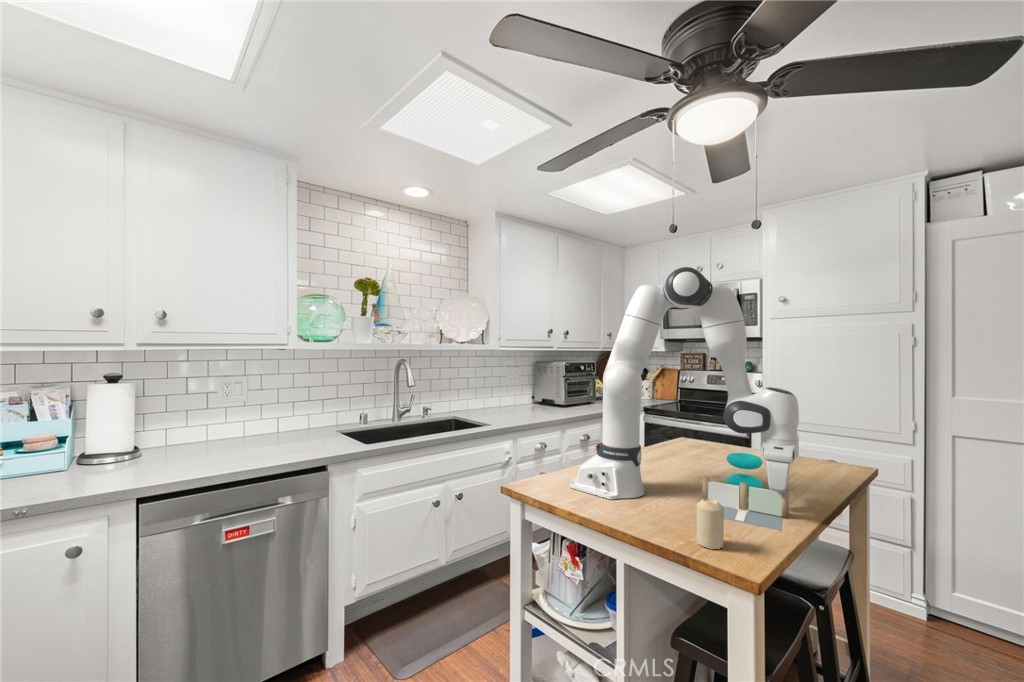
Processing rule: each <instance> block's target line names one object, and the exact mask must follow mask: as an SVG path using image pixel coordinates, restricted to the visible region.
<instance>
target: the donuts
mask: <svg viewBox="0 0 1024 682" xmlns="http://www.w3.org/2000/svg"><path fill="white" fill-rule="evenodd" d="M726 461H727V463H728V464H729V465H731V466H732V467H734V468H737V469H742V470H748V471H749V470H757V469H760V468H761V467H762V466H763V459H762V458H761V457H760V456H758V455H756V454H752V453H745V452H731V453H729V454H727V456H726ZM741 482H742V483H747V492H749V486H750V487H755V488H761V489H763V482H762V481H761V479H759V478H758V477H757V476H754V475H752V474H748V473H732V474H730V475H728V476H727V478H726V484H731V485H737V486H740V483H741Z"/></svg>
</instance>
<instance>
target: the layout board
mask: <svg viewBox="0 0 1024 682" xmlns="http://www.w3.org/2000/svg"><path fill="white" fill-rule="evenodd" d="M722 507H723V508H724V520H728V521H732V522H738V523H741V524H742V523H743V524H747V525H751V526H755V527H756V526H757V527H761V528H766V529H771V530H775V531H780V532H781V530H782V524H783V523H782V522H783V517H782V516H777V515H772V514H766V513H761V512H756V511H751V510H749V501H747V510H741V509H740V508H739V509H735V508H730V507H725V506H722Z"/></svg>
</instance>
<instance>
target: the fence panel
mask: <svg viewBox="0 0 1024 682" xmlns="http://www.w3.org/2000/svg"><path fill="white" fill-rule="evenodd" d="M748 502H749V510H751V511H756V512H761V513H766V514H772V515H777V516H782V518H785V519H786V518H789V517H790V513H789V511H790V489H789V488H786V492H777V491H772V490H770V489H768V488H767V489H766V488H755V487H750V486H749V491H748Z"/></svg>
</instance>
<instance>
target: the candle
mask: <svg viewBox="0 0 1024 682" xmlns="http://www.w3.org/2000/svg"><path fill="white" fill-rule="evenodd" d="M724 521H725V519H724V508H723V507H722V505H721V504H720V503H719V502H718V501H717V500H716V499H711V498H708V499H705V498H703V499H702V498H701V500H700V501H699V502H698V503H697V504H696V543H697V545H698V544H700V545H701V546H700V545H699V546H700V547H702V546H703V547H702V548H704V547H706V548H705V549H707V548H711V549H710V550H712V549H719V550H721V549H720V548H722V547H723V548H724V540H725V539H724V535H725V534H724V533H725V532H724ZM723 548H722V549H723Z"/></svg>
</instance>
